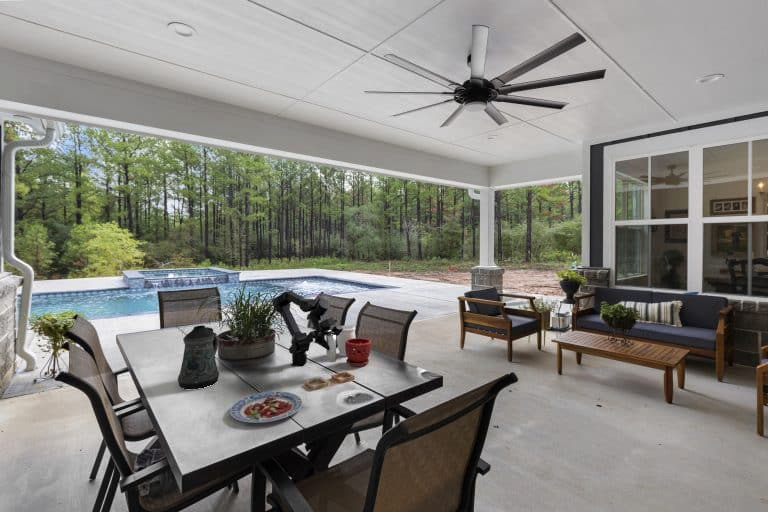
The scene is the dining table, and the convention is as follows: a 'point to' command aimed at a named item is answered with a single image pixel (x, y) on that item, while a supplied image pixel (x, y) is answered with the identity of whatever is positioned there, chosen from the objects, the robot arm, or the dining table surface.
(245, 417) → the ceramic plate
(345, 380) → the brown divided tray
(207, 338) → the beer stein
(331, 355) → the cylinder
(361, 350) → the plant pot
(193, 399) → the dining table surface
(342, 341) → the jar
